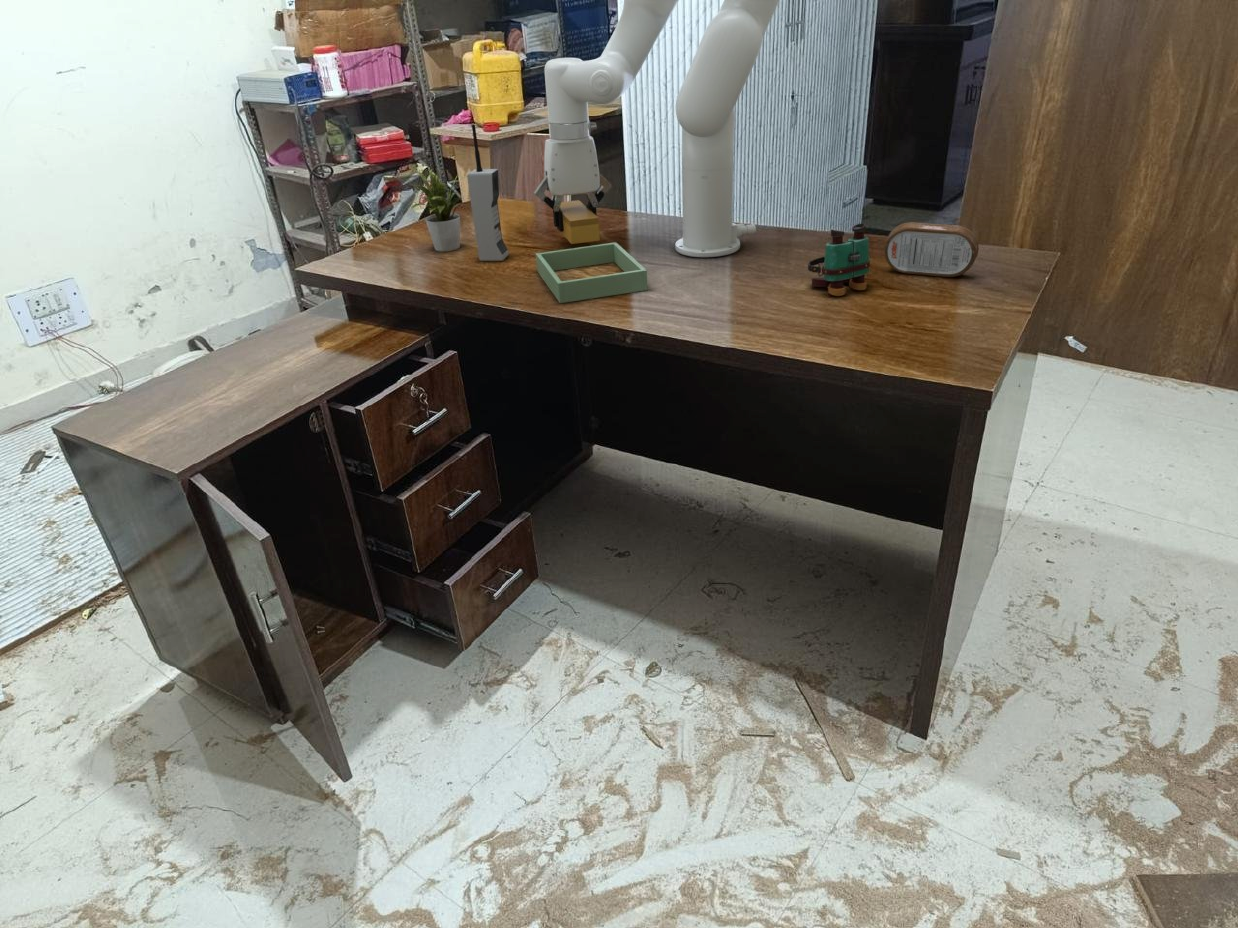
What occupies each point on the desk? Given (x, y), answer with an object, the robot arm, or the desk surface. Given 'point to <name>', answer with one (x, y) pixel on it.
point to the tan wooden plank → (579, 223)
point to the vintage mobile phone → (486, 210)
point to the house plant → (441, 214)
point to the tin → (931, 249)
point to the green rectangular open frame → (591, 286)
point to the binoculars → (843, 262)
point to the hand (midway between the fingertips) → (575, 227)
